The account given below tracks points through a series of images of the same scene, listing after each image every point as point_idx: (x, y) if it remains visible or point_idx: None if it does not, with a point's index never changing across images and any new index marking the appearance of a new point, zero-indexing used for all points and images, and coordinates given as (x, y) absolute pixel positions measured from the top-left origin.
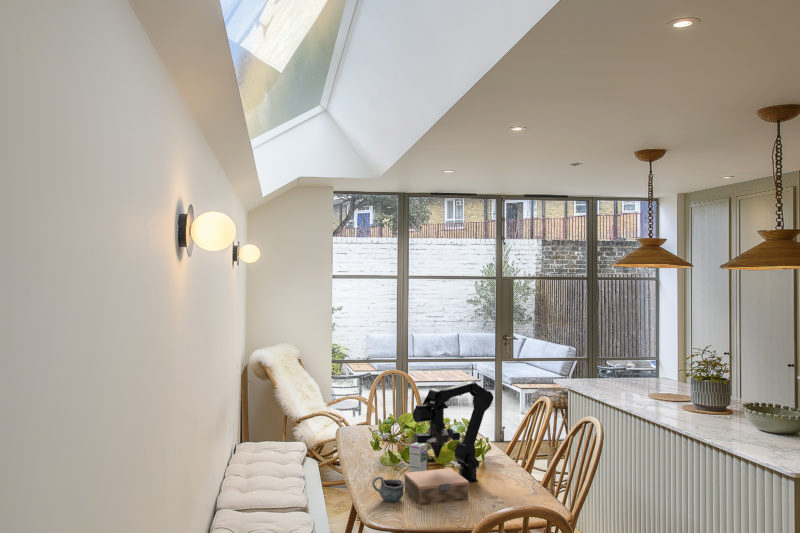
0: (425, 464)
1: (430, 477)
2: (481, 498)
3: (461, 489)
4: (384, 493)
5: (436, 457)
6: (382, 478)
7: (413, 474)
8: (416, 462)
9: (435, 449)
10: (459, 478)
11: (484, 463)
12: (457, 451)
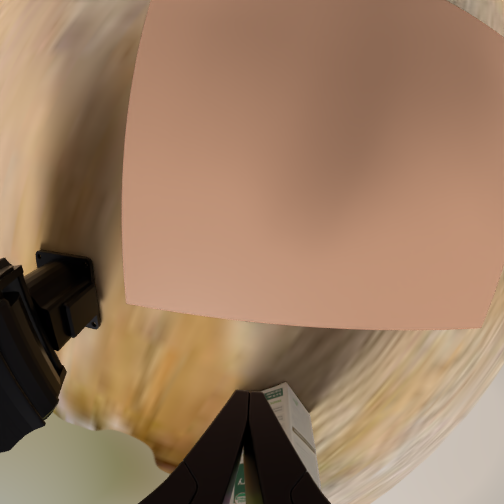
0: None
1: (418, 143)
2: (126, 21)
3: None
4: None
5: (262, 394)
6: None
7: (471, 275)
8: (302, 458)
9: (297, 487)
10: (188, 12)
11: None
12: (20, 400)
